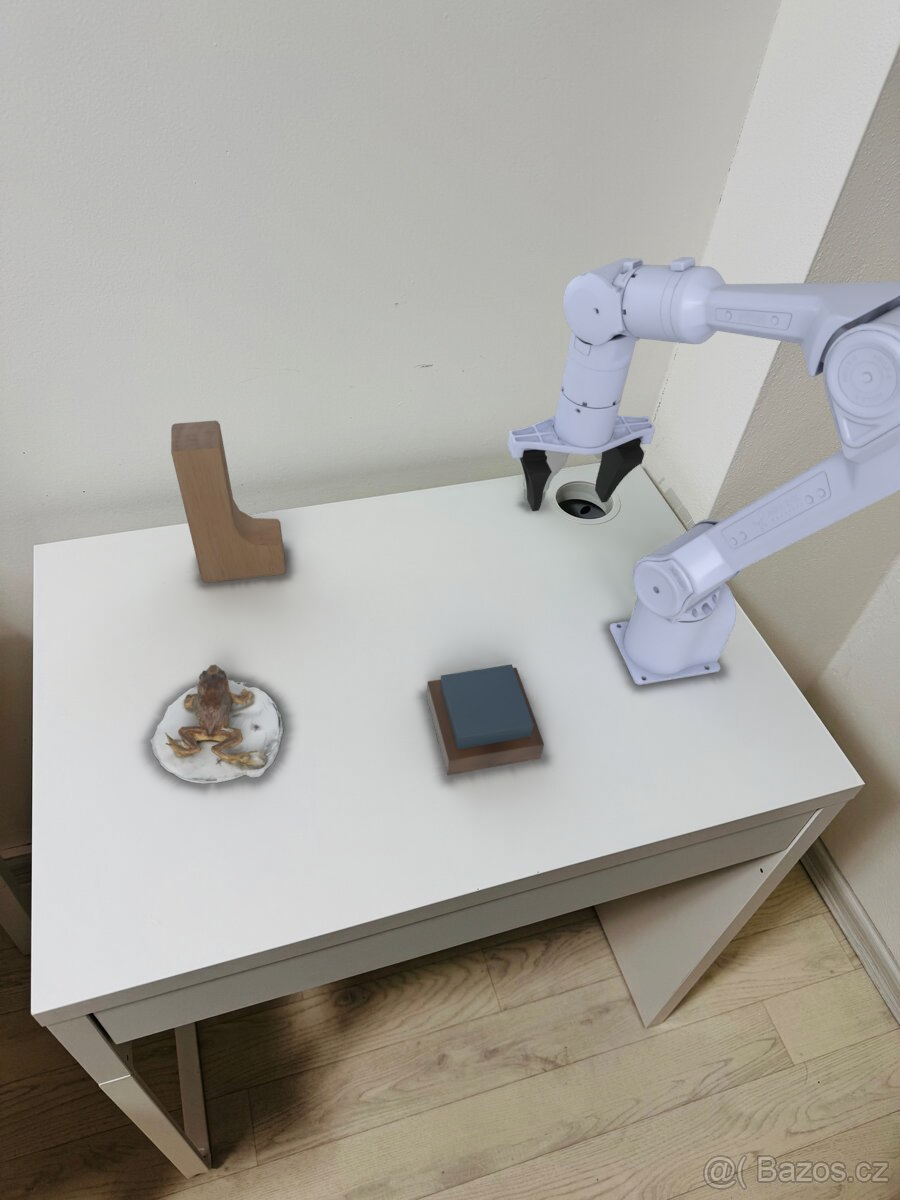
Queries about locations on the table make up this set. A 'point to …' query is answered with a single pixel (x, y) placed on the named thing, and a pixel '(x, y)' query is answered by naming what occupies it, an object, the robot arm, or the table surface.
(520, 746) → the base block
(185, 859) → the table surface
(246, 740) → the frog figurine
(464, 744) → the top block
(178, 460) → the wooden block
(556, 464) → the lightbulb
